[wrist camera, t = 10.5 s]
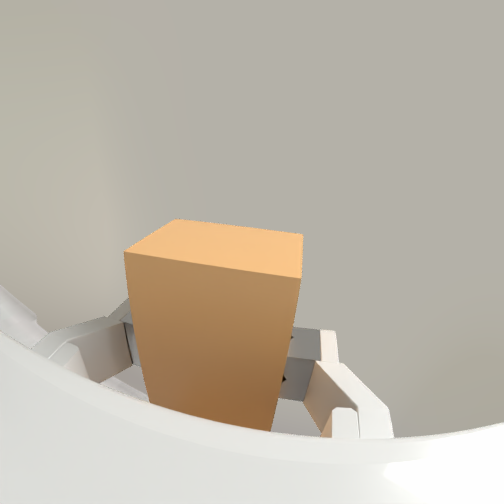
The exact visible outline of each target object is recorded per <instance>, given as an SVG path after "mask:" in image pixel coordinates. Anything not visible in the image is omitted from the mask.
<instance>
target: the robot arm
mask: <svg viewBox="0 0 504 504" xmlns="http://www.w3.org/2000/svg"><path fill="white" fill-rule="evenodd" d="M132 364H133V365H137V366H140V367H141V364H140V359H139V354H138V349H137V344H136V339H135V333H134V328H133V322H132V315H131V309H130V302H129V298H128V299H127V300H125V301H124V303H122V304H121V305H120V306H119V307H118V308H117V309H116V310H115V311H114V312H113V313H112V314H111V315H109V316H108V317H101V318H97V319H94V320H91V321H87V322H84V323H80V324H77V325H74V326H70V327H67V328H64V329H60V330H56V331H53V332H49V333H48V334H47V335H46V336H45V337H44V338H42V339H41V340H40V341H39V342H38V343H37V344H36V345H35V346H33V347H32V348H31V349H30V348H28V347H26V346H24V345H23V344H21V343H20V342H18V341H16V340H15V339H13V338H12V337H10V336H8V335H7V334H5V333H4V332H2V331H1V330H0V504H504V422H502V423H498V424H494V425H489V426H485V427H480V428H475V429H470V430H465V431H458V432H453V433H446V434H437V435H428V436H418V437H406V438H394V435H393V429H392V424H391V419H390V413H389V408H388V407H387V406H386V405H385V404H384V403H383V402H382V401H381V400H380V399H379V398H377V396H376V395H375V394H373V392H371V391H370V390H369V389H368V388H367V387H366V386H365V385H364V384H363V383H362V382H361V381H360V380H359V379H358V378H357V377H356V376H355V375H354V374H353V373H352V372H351V371H350V370H349V369H348V368H347V367H346V366H345V365H344V364H343V363H339V361H338V351H337V341H336V333H335V331H331V330H317V329H307V328H298V327H293V329H292V334H291V339H290V344H289V349H288V354H287V359H286V364H285V369H284V374H283V378H282V383H281V388H280V392H279V397H278V398H282V399H288V400H295V401H302V402H303V403H304V405H305V407H306V408H307V410H308V412H309V413H310V415H311V417H312V418H313V420H314V422H315V423H316V425H317V427H318V428H319V430H320V431H321V433H322V434H321V436H320V437H312V436H301V435H292V434H284V433H276V432H269V431H263V430H257V429H251V428H245V427H240V426H235V425H230V424H225V423H221V422H216V421H212V420H208V419H204V418H200V417H196V416H192V415H188V414H185V413H181V412H178V411H174V410H171V409H168V408H164V407H161V406H158V405H155V404H152V403H149V402H146V401H143V400H140V399H137V398H135V397H132V396H129V395H126V394H124V393H121V392H119V391H116V390H114V389H111V388H109V387H106V386H104V385H101V384H99V383H101V382H103V381H104V380H106V379H108V378H110V377H112V376H114V375H115V374H118V373H119V372H121V371H123V370H125V369H127V368H129V367H131V366H132Z"/></svg>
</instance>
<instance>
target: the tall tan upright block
mask: <svg viewBox="0 0 504 504" xmlns="http://www.w3.org/2000/svg"><path fill="white" fill-rule="evenodd" d="M302 253H303V235H302V234H296V233H289V232H281V231H273V230H266V229H257V228H249V227H242V226H233V225H225V224H216V223H207V222H199V221H190V220H181V219H175V220H173V221H171V222H170V223H168V224H166V225H165V226H163V227H162V228H160V229H158V230H157V231H155V232H153V233H152V234H150V235H148V236H147V237H145V238H144V239H142V240H140V241H139V242H137V243H136V244H134V245H133V246H131V247H130V248H128V249H126V250H125V251H124V261H125V270H126V279H127V287H128V295H129V302H130V309H131V315H132V322H133V328H134V333H135V339H136V344H137V349H138V354H139V359H140V364H141V368H142V373H143V377H144V381H145V385H146V390H147V393H148V397H149V401H150V403H152V404H155V405H158V406H161V407H164V408H168V409H171V410H174V411H178V412H181V413H185V414H188V415H192V416H196V417H200V418H204V419H208V420H212V421H216V422H221V423H225V424H230V425H235V426H240V427H245V428H251V429H257V430H263V431H269V432H270V431H271V427H272V422H273V418H274V414H275V409H276V405H277V401H278V397H279V392H280V388H281V383H282V378H283V374H284V369H285V364H286V359H287V354H288V349H289V344H290V339H291V334H292V329H293V323H294V318H295V312H296V306H297V301H298V295H299V289H300V283H301V273H302Z"/></svg>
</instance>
